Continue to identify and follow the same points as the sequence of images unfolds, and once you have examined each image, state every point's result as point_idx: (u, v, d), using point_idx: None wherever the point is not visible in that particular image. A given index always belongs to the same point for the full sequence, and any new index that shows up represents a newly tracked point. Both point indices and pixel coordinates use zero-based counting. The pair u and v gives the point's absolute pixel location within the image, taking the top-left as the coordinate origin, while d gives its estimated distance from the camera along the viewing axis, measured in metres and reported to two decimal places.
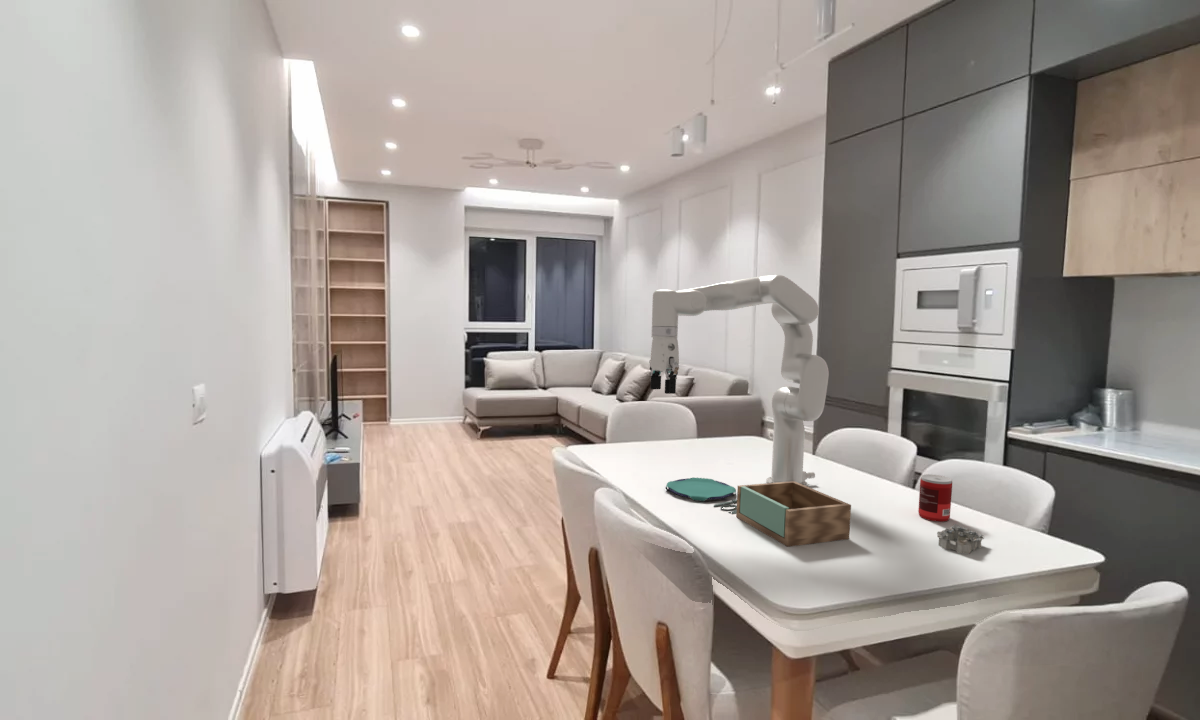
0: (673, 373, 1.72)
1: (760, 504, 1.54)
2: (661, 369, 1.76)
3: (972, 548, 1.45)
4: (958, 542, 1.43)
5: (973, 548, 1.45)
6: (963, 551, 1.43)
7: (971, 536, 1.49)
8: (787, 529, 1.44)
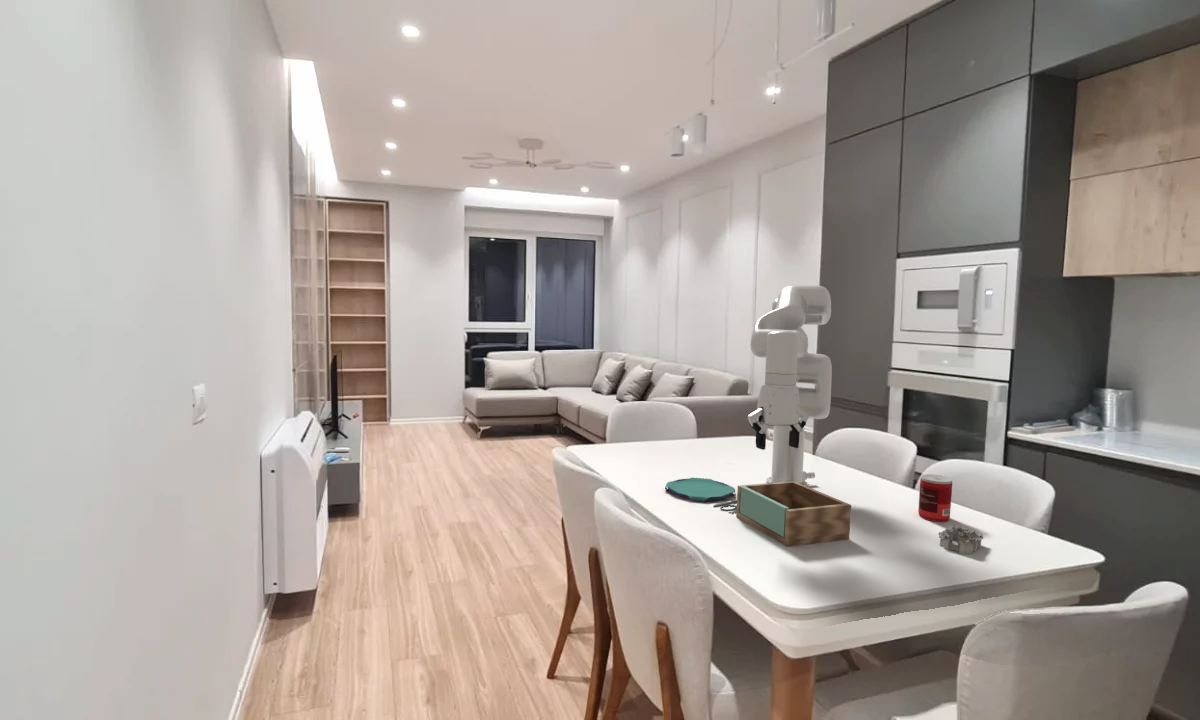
0: None
1: (760, 504, 1.54)
2: (793, 422, 1.54)
3: (973, 548, 1.45)
4: (960, 542, 1.43)
5: (974, 548, 1.45)
6: (965, 551, 1.43)
7: (970, 536, 1.50)
8: (787, 529, 1.44)
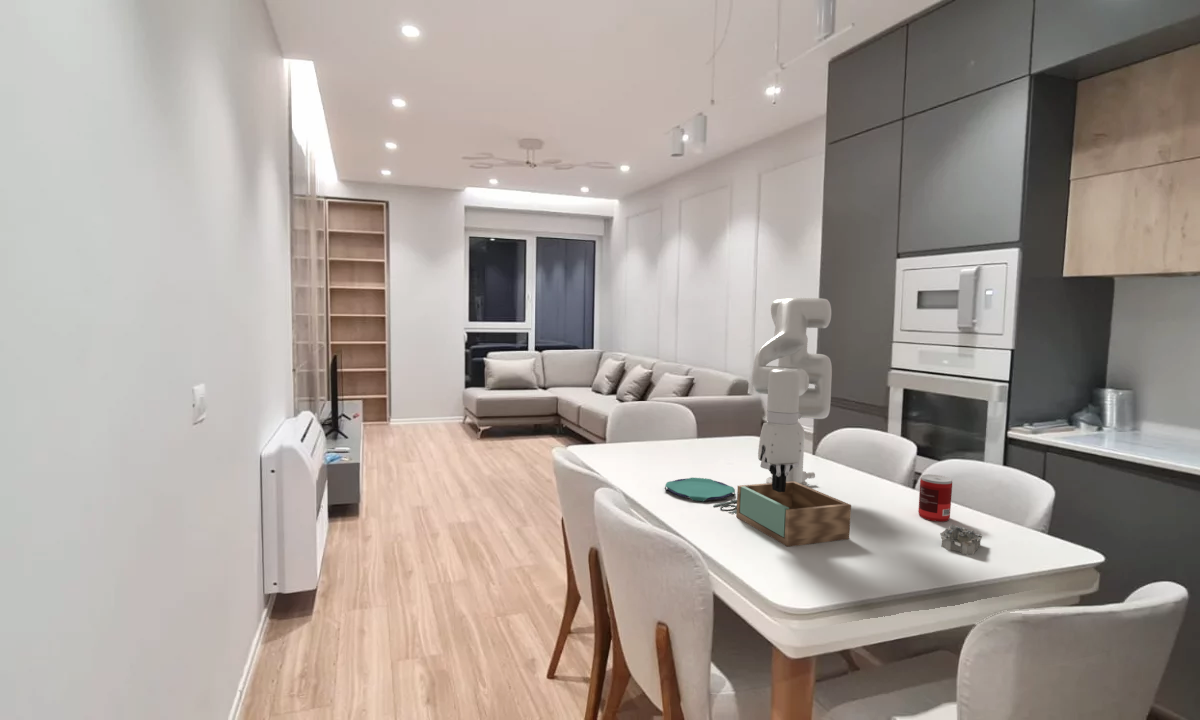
0: None
1: (760, 504, 1.54)
2: (795, 460, 1.54)
3: (974, 548, 1.45)
4: (963, 543, 1.43)
5: (975, 548, 1.45)
6: (968, 552, 1.42)
7: (969, 535, 1.50)
8: (787, 529, 1.44)
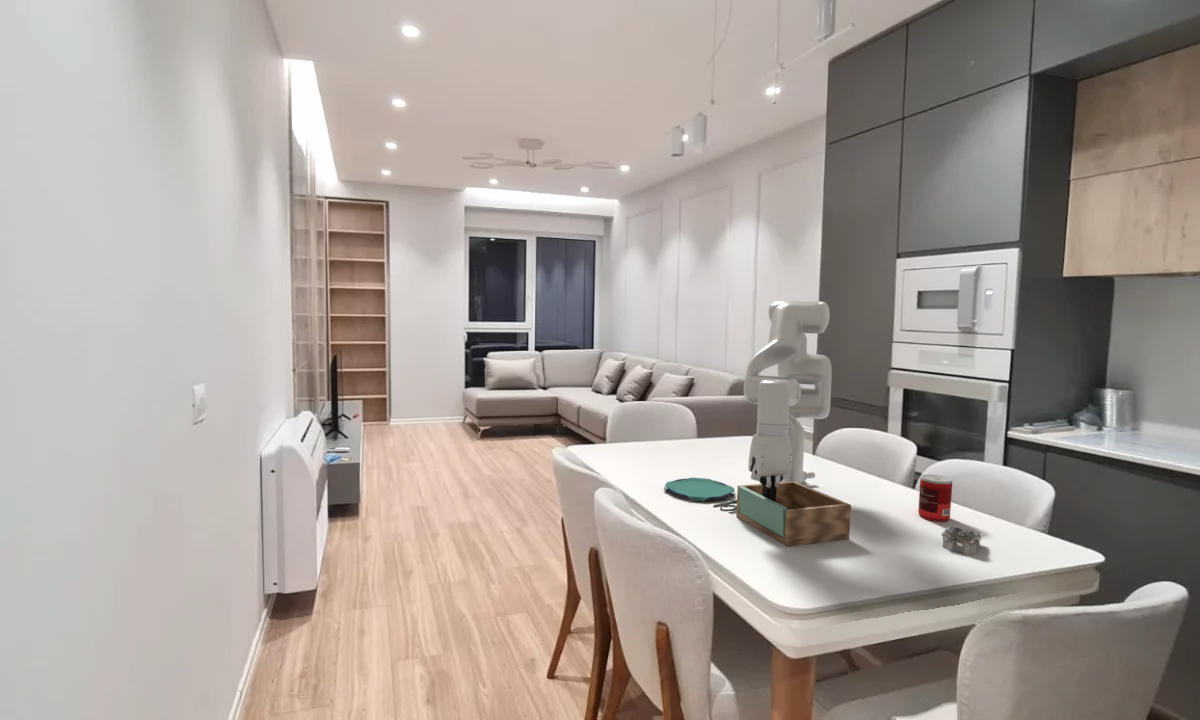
0: None
1: (758, 504, 1.54)
2: (785, 471, 1.53)
3: None
4: (965, 543, 1.42)
5: (976, 548, 1.45)
6: (970, 552, 1.42)
7: (968, 535, 1.50)
8: (787, 529, 1.44)
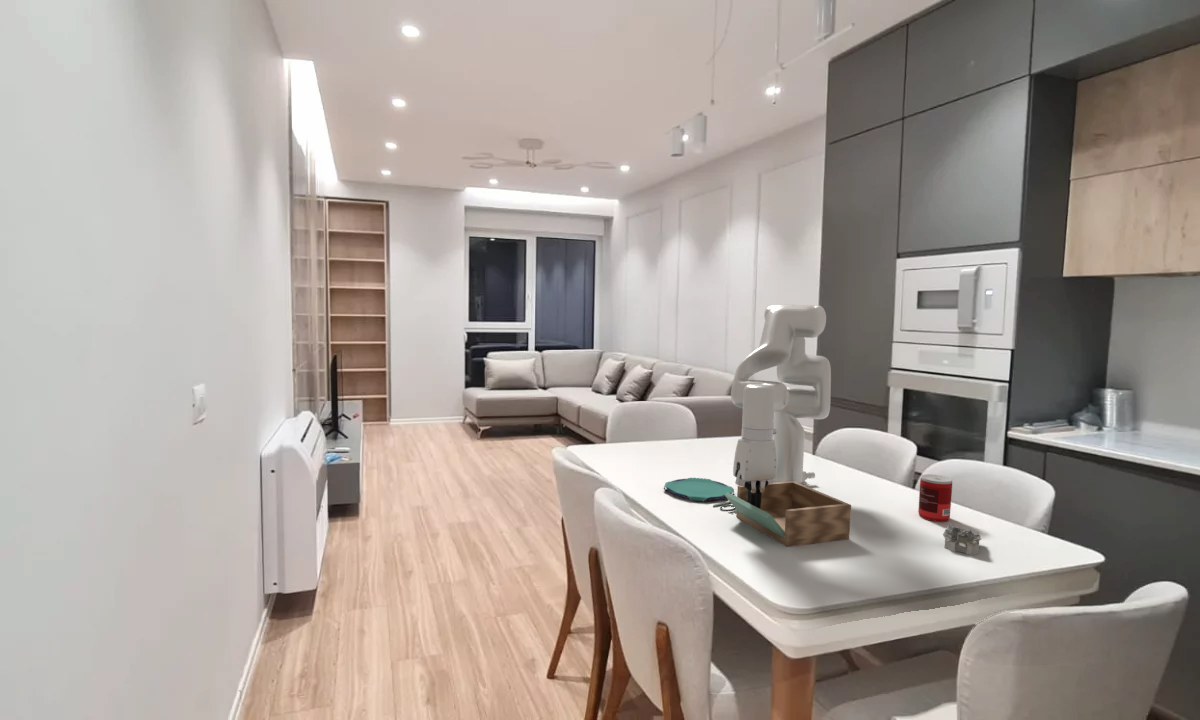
0: None
1: (748, 511, 1.53)
2: (770, 477, 1.52)
3: None
4: (968, 544, 1.42)
5: None
6: (972, 552, 1.42)
7: (967, 535, 1.50)
8: (787, 529, 1.44)
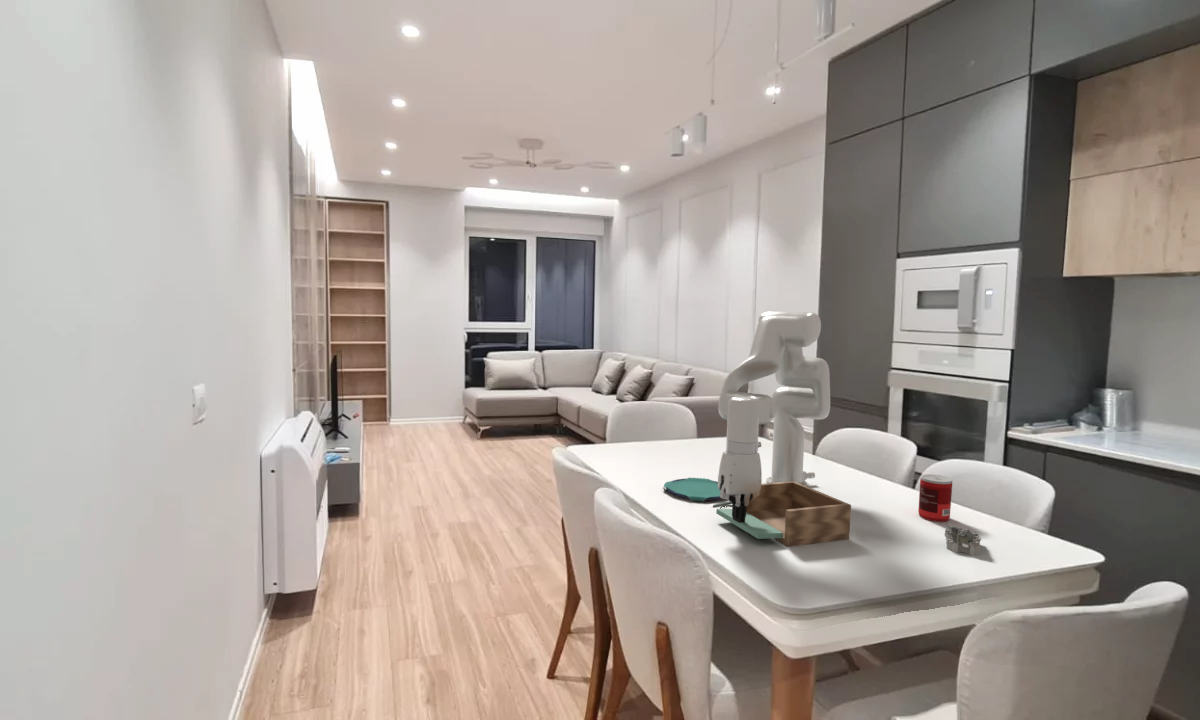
0: None
1: None
2: (755, 490, 1.51)
3: None
4: (971, 544, 1.42)
5: None
6: (975, 552, 1.42)
7: (966, 534, 1.50)
8: (787, 529, 1.44)
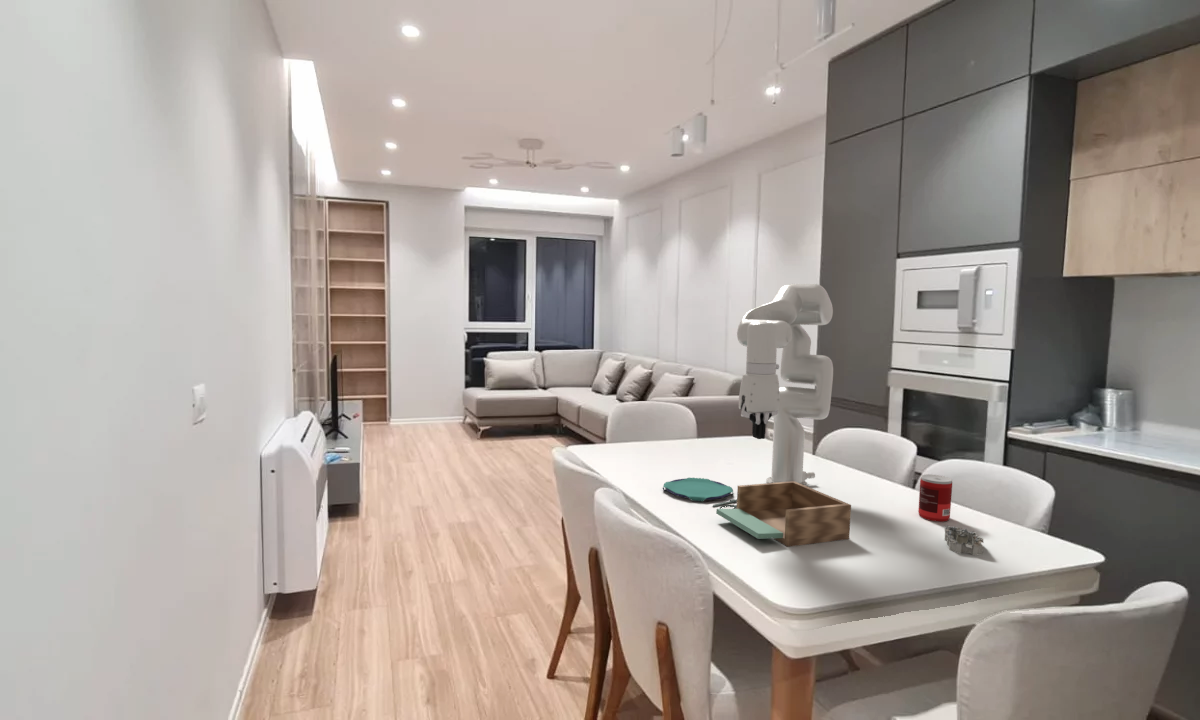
0: None
1: None
2: (773, 409, 1.61)
3: None
4: (974, 544, 1.42)
5: None
6: (978, 552, 1.42)
7: None
8: (787, 529, 1.44)
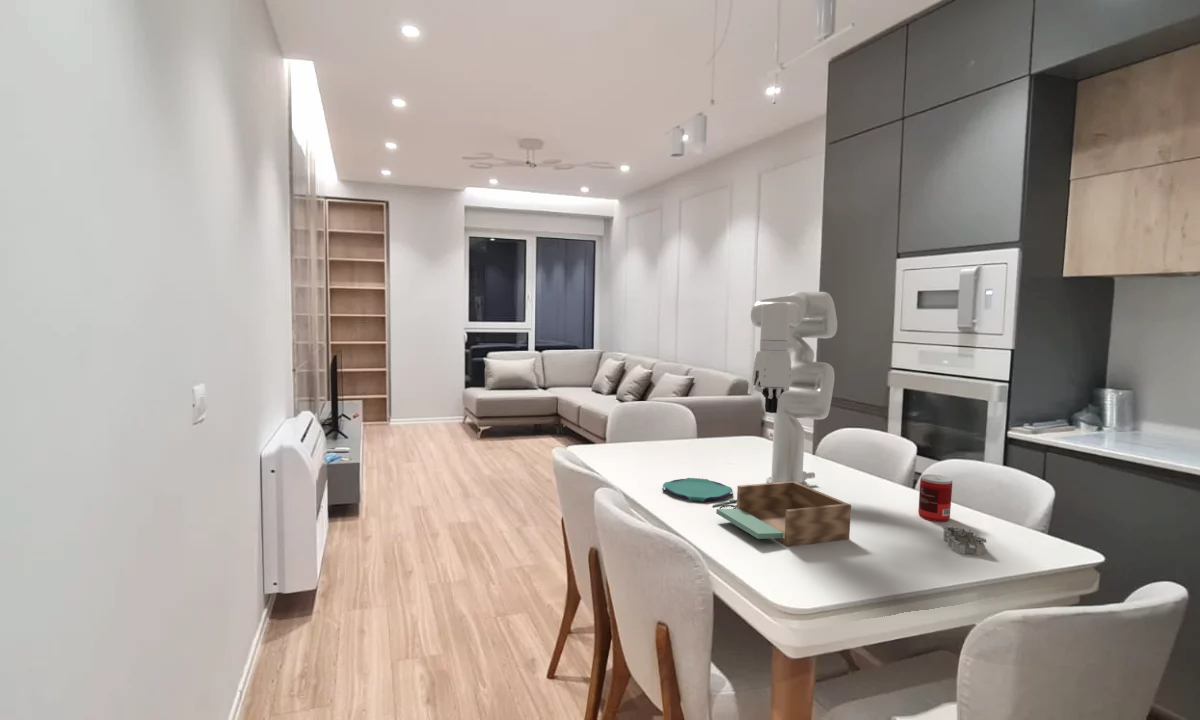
0: None
1: None
2: (785, 384, 1.70)
3: None
4: (977, 545, 1.42)
5: None
6: (981, 552, 1.42)
7: None
8: (787, 529, 1.44)
